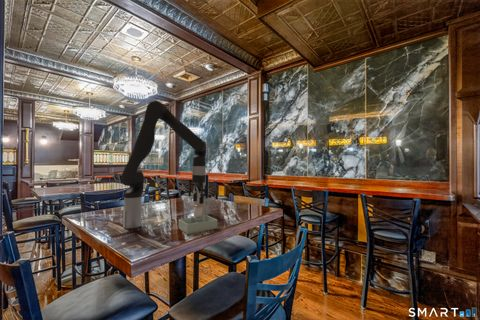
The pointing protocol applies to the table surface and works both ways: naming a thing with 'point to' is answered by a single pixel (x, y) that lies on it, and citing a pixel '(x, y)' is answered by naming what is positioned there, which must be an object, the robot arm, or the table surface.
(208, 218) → the tote
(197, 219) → the block
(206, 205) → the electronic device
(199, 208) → the jar
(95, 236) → the table surface
